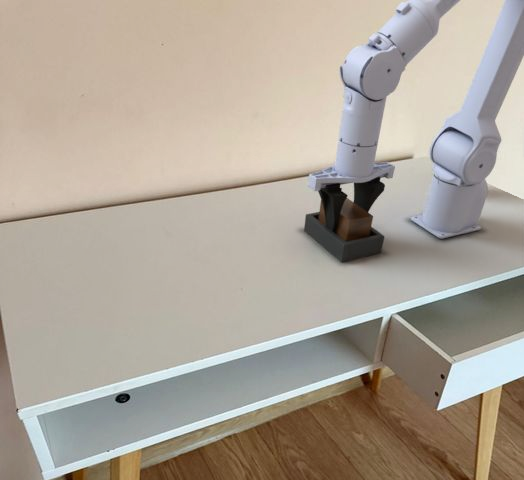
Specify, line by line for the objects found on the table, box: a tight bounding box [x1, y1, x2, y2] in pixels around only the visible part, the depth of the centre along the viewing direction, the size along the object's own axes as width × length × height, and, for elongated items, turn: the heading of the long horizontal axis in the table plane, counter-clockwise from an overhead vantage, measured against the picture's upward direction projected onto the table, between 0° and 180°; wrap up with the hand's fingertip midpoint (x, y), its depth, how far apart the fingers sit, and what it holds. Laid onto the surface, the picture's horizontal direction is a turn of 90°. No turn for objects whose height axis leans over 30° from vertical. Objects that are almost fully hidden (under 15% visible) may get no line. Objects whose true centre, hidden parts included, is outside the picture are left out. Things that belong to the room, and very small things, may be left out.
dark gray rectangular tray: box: [303, 211, 386, 263], centre depth 90 cm, size 8×11×3 cm
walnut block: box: [318, 197, 374, 242], centre depth 88 cm, size 4×8×4 cm, turn 28°
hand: (344, 225), depth 89 cm, fingers closed on walnut block, 4 cm apart
